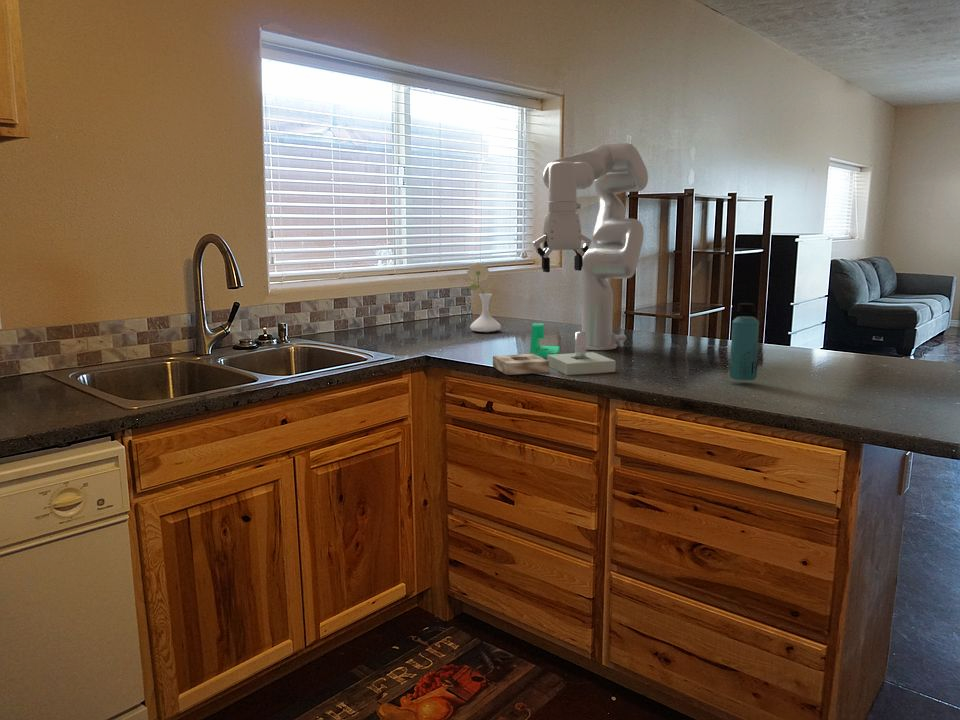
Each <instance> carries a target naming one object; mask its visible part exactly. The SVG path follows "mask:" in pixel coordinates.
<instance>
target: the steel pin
mask: <svg viewBox="0 0 960 720" xmlns="http://www.w3.org/2000/svg"><path fill="white" fill-rule="evenodd" d="M586 334H587V332H582V331H575V336H574V353H575V359H576V360H579V359H586V353H587V350H586Z"/></svg>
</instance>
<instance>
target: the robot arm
mask: <svg viewBox="0 0 960 720" xmlns="http://www.w3.org/2000/svg"><path fill="white" fill-rule="evenodd" d="M648 173H649V172H648V170H647V166H646V164H645V163H644V160H643V159H642V156H641V154H640V152H639V151H638V149H637V148H636V146H634V145H633V144H632V143H630V142H627V143H610V144H609V143H608V144H600V145H597V146H596V147H593V148H592V149H589V150H587V151H586V152H581V153H576V154H573V155H569V156H565V157H561V158H558V159H555V160H553V161H551V162H548V164H547V165H546V166H545V167H544V170H543V174H542V180H543V183H544V186H545V187H546V189H548V213H545V217H544V222H543V227H542V229H543V230H542V235H541V236H540V237H539V238H537V239H536V240H533V241H532V245H533V247H534V250H535V252H536V253H537V254H538V255H539V256H540V258H541V270H542V272H544V273H550V270H551V259H550V257H549V256H550V254H551V253H552V251H571V250H573V252H574V253H575V256H574V263H573V264H574V266H573V267H574V268H573V269H574V271H579V272H580V271H581V272H580V273H581V278H582V279H581V280H582V282H581V283H582V298H581V299H582V301H581V302H582V305H581V307H582V309H581V311H582V312H581V332H587V334H586V351H609V350H614V349H615V350H616V349H617V346H618V345H617V342H618V341H619V342H623V341H626V340H627V336H626V334H616V333H614V332H613V316H614V315H613V312H614V310H613V309H614V307H613V306H614V291H613V289H612V286H611V285H610V283H609V281H608V279H617V280H619V279H621V280H623V279H630V278H632V277H633V276H634V275H635V273H636V271H637V268H638V263H639V259H640V254H641V250H642V246H643V242H644V237H645V236H644V235H645V234H644V226H643V224H642V222H641V221H640V220H638V219H635V218H625V215H626V213H627V212H626V207H625V205H624V203H623V201H622V200H621V198H619V197H618V196H617V195H616V193H631V192H632V193H633V192H634V193H635V192H641V191H644V190H645V188H646V187H647V185H648V181H649V174H648ZM593 184H594V190H595V193H596V194H595V195H596V199H597V202H598V211H597V212H598V213H597V216H596V219H595V223H594V227H593V230H592V236H591V237H592V238H588V237H586V236H585V235H583V234H582V229H581V228H582V227H581V226H582V225H581V220H580V215H579V213H578V212H577V211H578V210H579V209H580V210H581V207H582V206H581V203H578V201H577V191H578V190H586V189H589V188H590V187H591V186H592V185H593ZM582 242H583V243H584V244H583V245H582ZM592 243H593V245H594V246H593V247H590V246H591V244H592ZM541 244H542V247H541Z"/></svg>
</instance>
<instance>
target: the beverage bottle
mask: <svg viewBox="0 0 960 720" xmlns="http://www.w3.org/2000/svg"><path fill="white" fill-rule="evenodd" d="M736 311H737V312H738V313H746V314H750V313H756V304H755V303H751V302H741V303H740V302H739V303H738V304H737V309H736ZM731 323H732V325H731V327H732V328H731V340H730V341H731V342H730V343H731V344H730V357H729V361H730V362H729V373H728V374H729V377H730V379H733V380H737V381H755V380H756V378H757V376H758V362H759V361H758V355H759V339H760V338H759V329H760V328H759V326H760V321H759V320H758V319H757V318H756V317H755V316H745V315H744V316H736V317H735V318H734V319H733V320H732V322H731Z"/></svg>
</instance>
